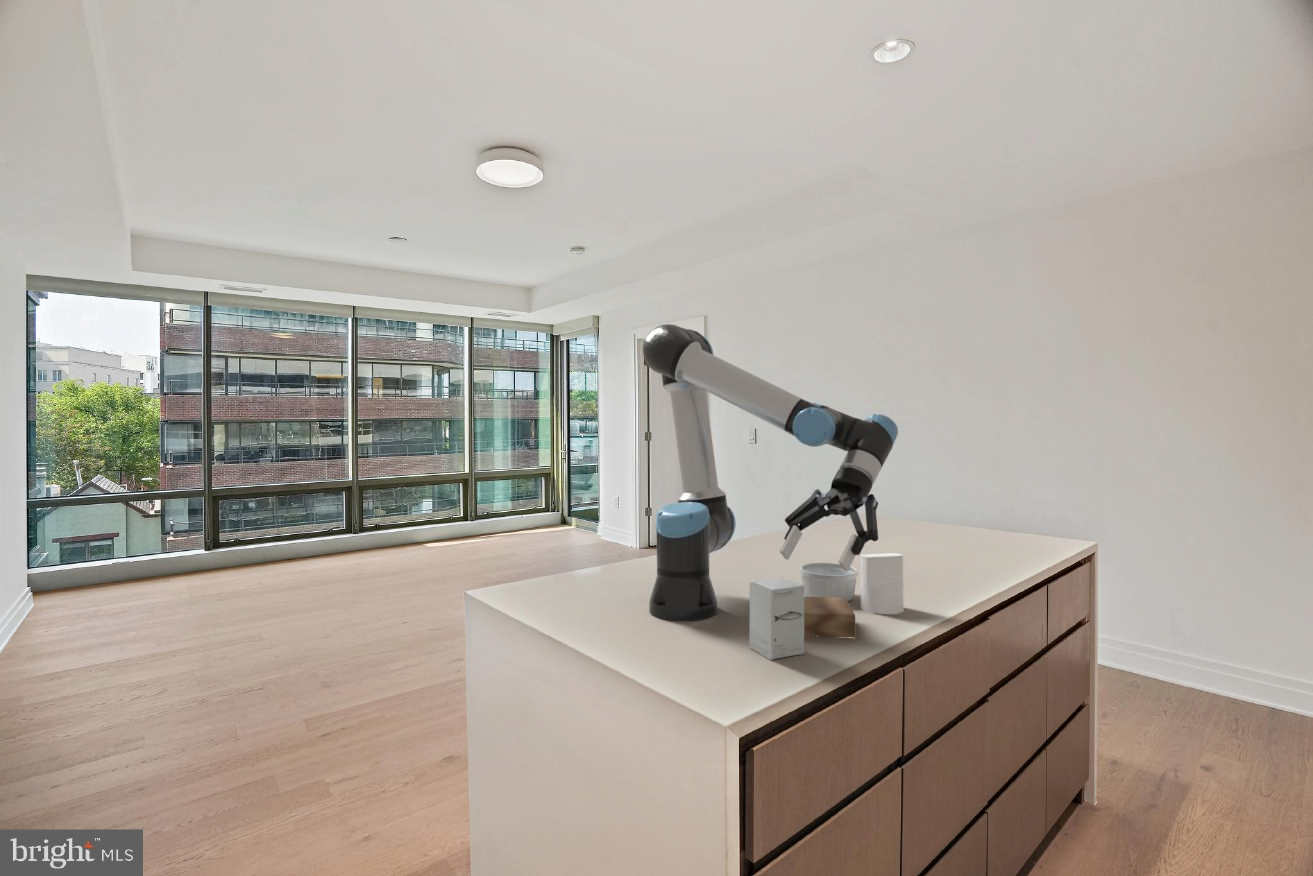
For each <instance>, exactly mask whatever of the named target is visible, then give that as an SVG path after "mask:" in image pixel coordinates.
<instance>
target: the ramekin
mask: <svg viewBox="0 0 1313 876" xmlns="http://www.w3.org/2000/svg"><path fill="white" fill-rule="evenodd" d="M799 569H800V570H799V573H800V575H801V585H804V596H805V597H841V598H846V600H847V602H848V603H849V602H850V601H851V600H852V599H853V598H854V596H855V593H856V592H855V591H856V585H857V578H858V575H859V574H858V569H857V568H856V567H854V566H852V565H851V566H850V568H849V570H848V571H844V569H843V568H842V567H841V565H840V564H839V562H836V563H835V562H826V561H825V562H810V563H805V564H803V565H801V566H800V568H799Z"/></svg>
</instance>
